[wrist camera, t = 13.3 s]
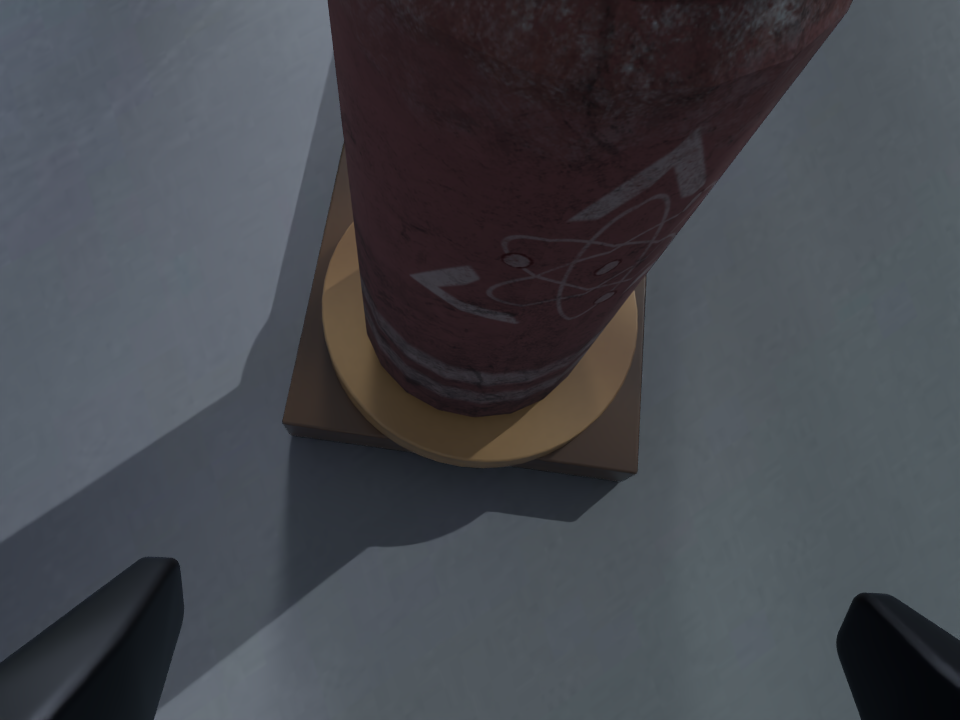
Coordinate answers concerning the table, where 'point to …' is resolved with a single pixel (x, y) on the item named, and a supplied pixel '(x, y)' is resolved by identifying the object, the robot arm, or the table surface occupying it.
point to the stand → (444, 435)
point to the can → (538, 167)
